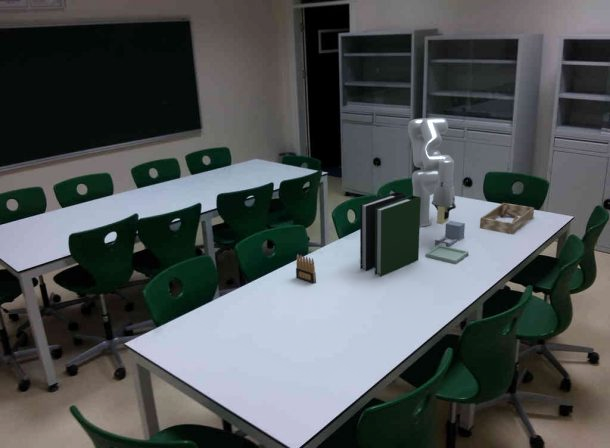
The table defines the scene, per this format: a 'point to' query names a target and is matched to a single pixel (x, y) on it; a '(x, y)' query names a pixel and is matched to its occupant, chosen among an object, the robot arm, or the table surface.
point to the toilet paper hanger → (508, 213)
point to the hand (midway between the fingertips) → (442, 217)
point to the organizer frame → (506, 227)
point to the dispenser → (452, 233)
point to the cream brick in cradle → (441, 215)
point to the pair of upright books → (389, 232)
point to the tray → (447, 254)
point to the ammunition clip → (305, 269)
